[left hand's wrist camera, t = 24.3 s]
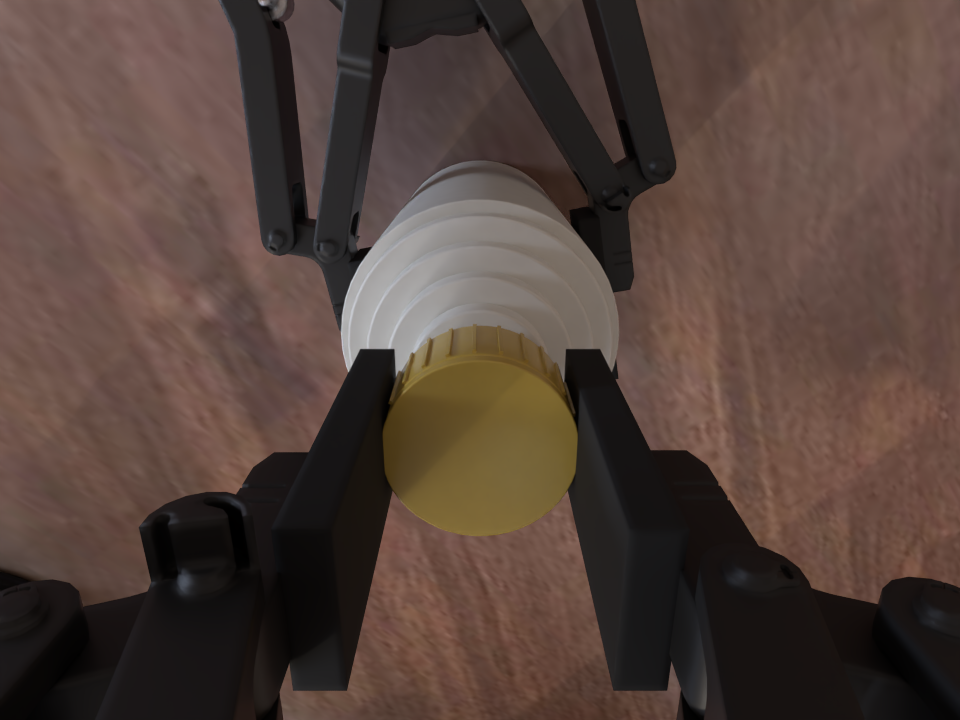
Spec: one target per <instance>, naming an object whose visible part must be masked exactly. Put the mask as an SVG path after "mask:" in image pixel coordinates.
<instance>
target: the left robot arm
mask: <svg viewBox="0 0 960 720" xmlns="http://www.w3.org/2000/svg"><path fill="white" fill-rule="evenodd" d="M395 380H396V367H395V349H360V350H359V352H358V354H357V356H356V359H355V361H354V363H353V365H352V367H351V369H350V371H349V373H348V375H347V377H346V379H345V381H344V383H343V385H342V387H341V389H340V391H339V393H338V395H337V397H336V399H335V401H334V403H333V405H332V407H331V409H330V411H329V413H328V415H327V417H326V419H325V421H324V423H323V425H322V427H321V429H320V431H319V433H318V435H317V437H316V439H315V441H314V443H313V445H312V447H311V449H310V451H309V452H274V453H273V454H271V455H270V456H269V457H267V458H266V459H264V460H263V461H262V462H260V463H259V464H257V465H256V466H255V467H253V469H252V470H251V472H250V473H249V475H248V477H247V478H246V480H245V481H244V483H243V487H242V488H240V489H239V491H238V493H237V494H236V495H235V494H232V493H228V492H205V493H200V494H194V495H189V496H185V497H182V498H180V499H177V500H175V501H172V502H170V503H167V504H165V505H163V506H162V507H160V508H159V509H157V510H156V511H154V512H153V513H151V514H150V515H149V516H148V517H147V518H146V519H145V520H144V522H143V523H142V524H141V525H140V527H139V530H140V534H141V539H142V543H143V547H144V552H145V556H146V561H147V565H148V569H149V574H150V578H151V584H150V587H149V589H148V592H145V593H141V594H138V595H134V596H131V597H127V598H122V599H117V600H113V601H108V602H104V603H99V604H94V605H90V606H85V607H83V605H82V601H81V597H80V594H79V591H78V590H77V589H76V588H74V587H73V586H72V585H71V584H70V583H67V582H62V581H57V580H43V581H32V582H28V583H24V584H20V585H18V586H17V585H16V586H13V587H10V588H7V589H5V590H3V591H1V592H0V720H283V714H282V707H281V700H280V693H279V691H280V688H281V686H282V683H283V680H284V677H285V674H286V671H287V668H288V665H289V664H290V671H291V678H292V685H293V691H347V688H348V683H349V679H350V675H351V670H352V666H353V661H354V657H355V653H356V648H357V644H358V640H359V635H360V631H361V626H362V622H363V618H364V613H365V609H366V605H367V600H368V596H369V591H370V587H371V583H372V578H373V574H374V570H375V565H376V561H377V556H378V552H379V548H380V543H381V539H382V534H383V530H384V526H385V521H386V517H387V513H388V508H389V504H390V499H391V495H392V491H393V490H392V488H391V486H390V484H389V482H388V480H387V478H386V475H385V467H384V451H383V426H384V423H385V419H386V416H387V413H388V409H389V406H390V404H388V402H389V399H390V396H391V392H392V389H393V386H394V383H395ZM564 382H566V384H567V387H568V390H569V394H570V397H571V400H572V403H573V407H574V410H575V417H574V418H575V421H576V425H577V429H578V441H577V457H576V472H575V476H574V479H573V481H572V483H571V485H570V487H569V488H568V493H569V498H570V502H571V507H572V511H573V515H574V520H575V524H576V528H577V533H578V537H579V542H580V546H581V550H582V555H583V559H584V563H585V568H586V572H587V577H588V581H589V585H590V590H591V594H592V598H593V603H594V607H595V612H596V616H597V620H598V625H599V629H600V633H601V638H602V642H603V647H604V651H605V655H606V660H607V664H608V668H609V673H610V677H611V682H612V686H613V690H614V691H667V688H668V681H669V674H670V666H671V661H672V664H673V667H674V669H675V672H676V675H677V678H678V681H679V684H680V687H681V693H680V700H679V707H678V713H677V720H960V588H958V587H956V586H954V585H951V584H948V583H943V582H941V581H936V580H933V579H926V578H916V577H905V578H900V579H895V580H892V581H890V582H889V583H888V584H887V585H886V586H885V587H884V588H883V589H882V592H881V596H880V599H879V603H878V604H874V603H870V602H865V601H860V600H856V599H851V598H846V597H842V596H837V595H833V594H829V593H825V592H822V591H818V590H815V589H813V588H811V586H810V583H809V581H808V580H807V578H806V577H805V575H804V574H803V573H802V571H801V570H800V568H799V567H797V566H796V565H795V564H793V563H792V562H791V561H789V560H788V559H787V558H785V557H784V556H782V555H780V554H778V553H775V552H773V551H771V550H769V549H766V548H764V547H759V546H758V544H757V543H756V541H755V539H754V538H753V536H752V535H751V533H750V532H749V530H748V528H747V527H746V525H745V524H744V522H743V521H742V519H741V517H740V516H739V514H738V513H737V511H736V510H735V508H734V506H733V505H732V503H731V502H730V500H727V495H726V494H725V492H724V491H723V489H722V488H721V486H718V481H717V480H716V478H715V477H714V475H713V473H712V472H711V470H710V469H709V467H708V465H706V464H705V463H703V462H702V461H701V460H699V459H698V458H696V457H695V456H694V455H692V454H691V453H689V452H688V451H687V450H650V448H649V446H648V444H647V442H646V440H645V438H644V436H643V434H642V432H641V430H640V428H639V426H638V424H637V422H636V420H635V418H634V416H633V414H632V412H631V410H630V408H629V406H628V404H627V402H626V400H625V398H624V396H623V394H622V392H621V390H620V388H619V386H618V384H617V382H616V380H615V378H614V376H613V374H612V372H611V370H610V368H609V366H608V364H607V362H606V360H605V358H604V356H603V354H602V352H601V350H600V349H566V355H565V375H564Z"/></svg>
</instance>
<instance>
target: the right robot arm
mask: <svg viewBox="0 0 960 720" xmlns="http://www.w3.org/2000/svg"><path fill="white" fill-rule="evenodd" d="M330 1H331V2H332V3H333V4H334V5H335V6H336V7H337V8H338V9H339V10H340V11H341V12H342V19H341V27H340V34H339V41H338V48H337V65H338V70H337V78H336V86H335V93H334V100H333V107H332V114H331V121H330V128H329V135H328V143H327V150H326V157H325V164H324V171H323V178H322V185H321V192H320V199H319V207H318V214H317V220H316V219H310V218H309V217H308V208H307V198H306V189H305V179H304V170H303V160H302V151H301V141H300V132H299V122H298V113H297V103H296V94H295V84H294V74H293V65H292V55H291V49H290V43H289V38H288V35H287V31H286V27H285V25H284V22H285V21H286V20H288V19H289V18H290V17H291V16H292V14H293V11H294V0H219V2H220V4H221V6H222V9H223V11H224V13H225V15H226V17H227V19H228V22H229V24H230V26H231V28H232V30H233V33H234V37H235V44H236V52H237V59H238V67H239V74H240V82H241V89H242V97H243V104H244V112H245V120H246V127H247V135H248V142H249V150H250V157H251V165H252V172H253V180H254V187H255V195H256V203H257V210H258V218H259V225H260V233H261V240H262V243H263V246H264V247H265V249H266V250H267V251H268V252H270V253H272V254H273V255H278V256H281V255H285V254H291V255H298V256H304V257H308V258H311V259H312V260H314V261H315V262H317V263H318V264H319V266H320V267H321V268H322V271H323V273H324V277H325V280H326V284H327V288H328V291H329V295H330V298H331V302H332V305H333V309H334V313H335V315H336V320H337V324H338V327H339V330H340V331H341V326H342V313H343V308H344V303H345V298H346V295H347V292H348V289H349V286H350V283H351V281H352V279H353V277H354V275H355V273H356V271H357V269H358V267H359V265H360V264H361V262H362V261H363V260H364V258H365V257H366V255H367V254H368V252H369V251H370V250H371V248H372V247H369V248H363V249H360V250H359V251H358V250H357V246H356V243H357V242H358V239H359V237H360V236H357V234H358V228H359V222H360V216H361V210H362V203H363V197H364V191H365V185H366V179H367V173H368V167H369V161H370V155H371V149H372V143H373V137H374V130H375V124H376V118H377V112H378V106H379V100H380V94H381V88H382V82H383V78H384V76H385V73H386V69H387V63H388V57H389V51H390V47H393V48H395V49H398V48H403V47H408V46H413V45H416V44H418V43H420V42H422V41H424V40H426V39H427V38H429V37H431V36H433V35H436V34H439V35H451V36H461V35H466V34H470V33H475V32H478V29H480V28H481V27H484V28H485V30H486V32H487V33H488V35H489V36H490V38H491V40H492V41H493V43H494V45H495V46H496V48H497V49H498V51H499V52H500V53H501V55H502V56H503V58H504V60H505V61H506V63H507V64H508V66H509V68H510V69H511V71H512V73H513V74H514V76H515V78H516V79H517V81H518V83H519V84H520V86H521V88H522V89H523V91H524V93H525V94H526V96H527V98H528V99H529V101H530V102H531V104H532V106H533V107H534V109H535V111H536V112H537V114H538V116H539V117H540V119H541V121H542V122H543V124H544V126H545V127H546V129H547V131H548V132H549V134H550V136H551V137H552V139H553V140H554V142H555V144H556V145H557V147H558V149H559V150H560V152H561V154H562V155H563V157H564V159H565V160H566V162H567V164H568V165H569V167H570V169H571V170H572V172H573V174H574V175H575V177H576V178H577V180H578V182H579V183H580V185H581V187H582V188H583V190H584V192H585V193H586V195H587V196H588V203H589V207H582V208H577V209H572V210H569V211H570V219H571V226H572V227H573V229H574V230H575V231H576V233H577V234H578V235H579V236H580V238H581V239H582V240H583V242H584V243H585V244H586V245H587V247H588V248H589V249H590V251H591V252H592V253H593V255H594V256H595V258H596V259H597V260H598V262H599V263H600V265H601V267H602V269H603V270H604V272H605V274H606V276H607V278H608V280H609V283H610V286H611V288H612V291H613V292H619V291H624V290H630V288H631V285H632V281H633V278H634V271H633V263H632V252H631V242H630V232H629V222H628V210H629V206H630V204H631V202H632V201H633V199H634V198H635V197H636V196H638V195H639V194H640V193H642V192H644V191H646V190H647V189H649V188H651V187H653V186H654V185H656V184H663V183H665V182H667V181H668V180H670V179H671V178H672V176H673V175H674V173H675V170H676V159H675V155H674V151H673V147H672V143H671V139H670V136H669V132H668V128H667V124H666V120H665V116H664V112H663V108H662V104H661V100H660V96H659V92H658V88H657V84H656V80H655V76H654V72H653V68H652V64H651V60H650V56H649V52H648V48H647V44H646V41H645V37H644V33H643V29H642V25H641V21H640V17H639V13H638V9H637V5H636V1H635V0H582V1H583V5H584V8H585V12H586V15H587V19H588V23H589V26H590V30H591V33H592V37H593V41H594V44H595V48H596V51H597V55H598V58H599V62H600V66H601V69H602V73H603V76H604V80H605V84H606V87H607V91H608V94H609V98H610V101H611V105H612V109H613V112H614V116H615V119H616V123H617V127H618V130H619V134H620V137H621V141H622V145H623V148H624V152H625V155H626V157H625V158H624V159H622V160H620V161H618V162H617V163H615V164H613V162H612V160H611V158H610V157H609V155H608V153H607V152H606V150H605V148H604V146H603V145H602V143H601V141H600V140H599V138H598V136H597V134H596V133H595V131H594V129H593V127H592V126H591V124H590V122H589V121H588V119H587V117H586V115H585V114H584V112H583V110H582V109H581V107H580V105H579V103H578V102H577V100H576V98H575V96H574V95H573V93H572V91H571V90H570V88H569V86H568V84H567V83H566V81H565V79H564V78H563V76H562V74H561V72H560V71H559V69H558V67H557V65H556V64H555V62H554V60H553V59H552V57H551V55H550V53H549V52H548V50H547V48H546V47H545V45H544V43H543V41H542V40H541V38H540V36H539V34H538V33H537V31H536V29H535V27H534V25H533V22H532V20H531V18H530V16H529V14H528V12H527V10H526V8H525V6H524V5H523V3H522V1H521V0H330ZM612 374H613V376H614V378H615V379H618V371H617V363H616V360H615V364H614V367H613V370H612Z"/></svg>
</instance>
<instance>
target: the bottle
mask: <svg viewBox="0 0 960 720" xmlns="http://www.w3.org/2000/svg"><path fill="white" fill-rule="evenodd" d="M473 324H477V326H493V327H497V325H499V326H501V328H503V329H507V330H511V331H513V332H515V333H518V334H520V333H523V334H524V337H526V338H528V339H529V340H531V341H532V342H534V343H535V344H536V345H538V346H540V345H541V346H543V348H544V351H545V353H546V354H547V355H548V356H549V357H550V358H551V360H552V361H553V362H554V363H555V362H557V364H558V366H559V369H560V372H561V376H562V379H563V382H564V375H565V355H566V349H600V350H601V352H602V354H603V356H604V358H605V360H606V362H607V364H608V366H609V368H610V370H611V372H612V370H613V367H614V364H615V360H616V355H617V350H618V340H619V320H618V311H617V306H616V301H615V297H614V294H613V291H612V288H611V286H610V283H609V280H608V278H607V276H606V274H605V272H604V270H603V269H602V267H601V265H600V263H599V262H598V260H597V259H596V258H595V256H594V255H593V253H592V252H591V251H590V249H589V248H588V247H587V245H586V244H585V243H584V242H583V240H582V239H581V238H580V236H579V235H578V234H577V233H576V231H575V230H574V229H573V227H572V226H571V225H570V224H569V222H568V221H567V220H566V218H565V217H564V216H563V215H562V213H561V212H560V211H559V209H558V208H557V207H556V206H555V204H554V203H553V202H552V200H551V199H550V198H549V196H548V195H547V194H546V193H545V191H544V190H543V189H542V188H541V187H540V186H539V185H538V184H537V183H536V182H535V181H534V180H533V179H532V178H530V177H529V176H528V175H526V174H525V173H523V172H521V171H520V170H518V169H516V168H513V167H511V166H509V165H506V164H502V163H499V162H493V161H486V160H474V161H467V162H462V163H458V164H455V165H451V166H449V167H447V168H445V169H442V170H441V171H439V172H437V173H436V174H434V175H432V176H431V177H430V178H429V179H428V180H426V181H425V182H424V183H423V184H422V185H421V186H420V187H419V188H418V189H417V190H416V192H415V193H414V194H413V196H412V197H411V198H410V199H409V201H408V202H407V203H406V205H405V206H404V207H403V208H402V210H401V211H400V212H399V214H398V215H397V216H396V217H395V219H394V220H393V221H392V223H391V224H390V225H389V226H388V228H387V229H386V230H385V232H384V233H383V234H382V235H381V237H380V238H379V239H378V241H377V242H376V243H375V245H374V246H373V247H372V248H371V250H370V251H369V252H368V254H367V255H366V257H365V258H364V260H363V261H362V262H361V264H360V265H359V267H358V269H357V271H356V273H355V275H354V277H353V279H352V281H351V283H350V286H349V289H348V292H347V295H346V298H345V303H344V308H343V313H342V326H341V337H342V348H343V354H344V358H345V362H346V367H347V369H348V372H349V371H350V369H351V367H352V365H353V363H354V361H355V359H356V356H357V354H358V352H359V350H360V349H395V367H396V376H397V373H398V371H402V369H403V368H404V366H405V364H406V363H407V361H408V359H409V356H410V354H411V353H412V352H413V353H415V352H416V351H417V350H418V349H419V348H420V347H421V346H422V345H424V344H425V343H427V339H429V338H431V339H433V338H434V337H436V336H438V335H440V334H442V333H445V332H447V331H449V329H450V328H453V329H457V328H461V327H468V326H473Z"/></svg>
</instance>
